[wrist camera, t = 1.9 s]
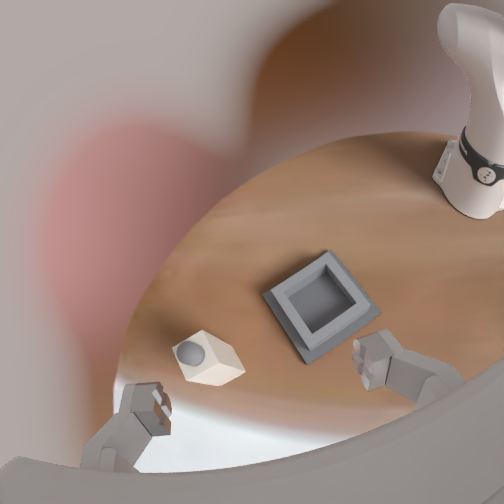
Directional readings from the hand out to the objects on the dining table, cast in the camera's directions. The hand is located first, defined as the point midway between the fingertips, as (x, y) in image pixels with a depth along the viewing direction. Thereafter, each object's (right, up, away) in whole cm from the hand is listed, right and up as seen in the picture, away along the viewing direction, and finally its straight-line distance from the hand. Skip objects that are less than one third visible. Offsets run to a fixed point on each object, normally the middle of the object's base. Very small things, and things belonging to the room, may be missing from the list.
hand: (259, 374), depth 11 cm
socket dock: (+11, -4, +35) cm, 37 cm away
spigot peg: (-5, -14, +34) cm, 37 cm away
